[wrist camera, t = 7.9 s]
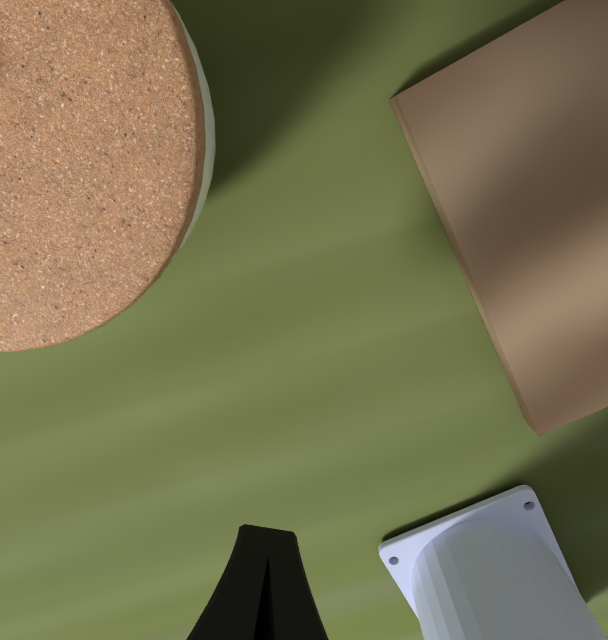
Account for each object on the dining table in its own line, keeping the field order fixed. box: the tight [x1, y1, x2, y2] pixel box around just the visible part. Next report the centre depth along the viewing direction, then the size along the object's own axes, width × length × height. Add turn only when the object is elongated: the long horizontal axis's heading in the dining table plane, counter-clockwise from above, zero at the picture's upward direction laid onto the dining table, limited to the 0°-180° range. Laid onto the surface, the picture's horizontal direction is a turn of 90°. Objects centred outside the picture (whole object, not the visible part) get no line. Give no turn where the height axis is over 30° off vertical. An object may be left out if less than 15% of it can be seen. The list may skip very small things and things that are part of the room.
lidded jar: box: [0, 0, 216, 352], centre depth 13 cm, size 11×11×9 cm
